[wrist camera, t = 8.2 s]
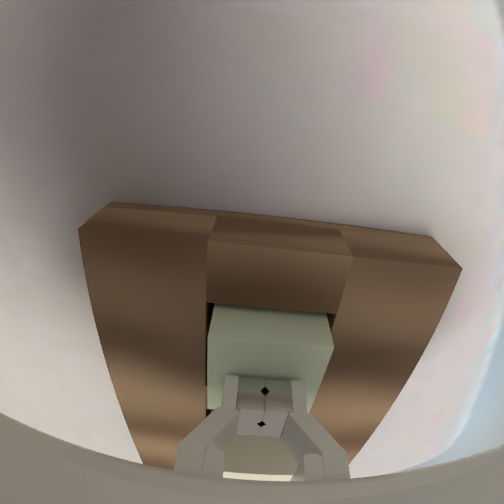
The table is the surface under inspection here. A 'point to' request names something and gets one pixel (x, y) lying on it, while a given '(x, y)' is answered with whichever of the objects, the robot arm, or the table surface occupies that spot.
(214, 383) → the key sage
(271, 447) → the cream cube
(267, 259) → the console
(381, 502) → the robot arm
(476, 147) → the table surface
